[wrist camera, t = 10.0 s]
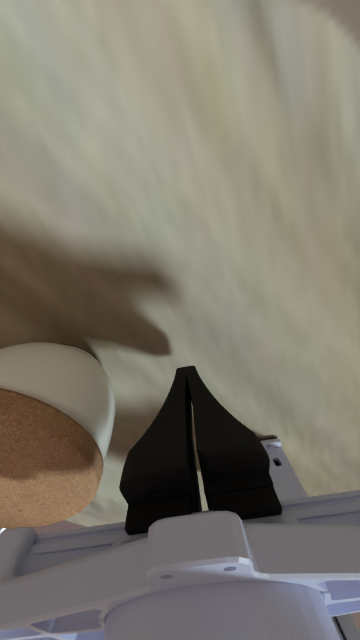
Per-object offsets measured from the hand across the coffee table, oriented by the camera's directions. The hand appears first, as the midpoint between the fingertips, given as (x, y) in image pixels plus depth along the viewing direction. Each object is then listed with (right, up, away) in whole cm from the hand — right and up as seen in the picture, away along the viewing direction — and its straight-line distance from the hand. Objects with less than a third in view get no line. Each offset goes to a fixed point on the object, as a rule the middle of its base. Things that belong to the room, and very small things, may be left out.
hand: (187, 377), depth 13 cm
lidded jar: (-11, 0, +3) cm, 11 cm away
